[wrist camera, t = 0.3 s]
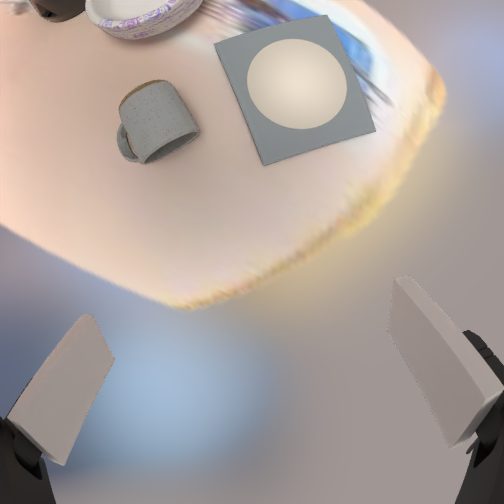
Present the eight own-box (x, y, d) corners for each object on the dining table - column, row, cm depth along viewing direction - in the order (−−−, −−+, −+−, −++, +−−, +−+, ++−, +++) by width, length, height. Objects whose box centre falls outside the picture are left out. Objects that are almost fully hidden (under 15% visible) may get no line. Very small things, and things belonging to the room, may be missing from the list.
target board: (215, 47, 28) (213, 43, 26) (324, 18, 26) (327, 14, 24) (263, 165, 34) (264, 166, 32) (371, 131, 31) (376, 131, 30)
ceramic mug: (176, 82, 30) (155, 68, 22) (206, 132, 32) (192, 130, 25) (112, 127, 32) (81, 127, 25) (139, 176, 34) (112, 185, 27)
